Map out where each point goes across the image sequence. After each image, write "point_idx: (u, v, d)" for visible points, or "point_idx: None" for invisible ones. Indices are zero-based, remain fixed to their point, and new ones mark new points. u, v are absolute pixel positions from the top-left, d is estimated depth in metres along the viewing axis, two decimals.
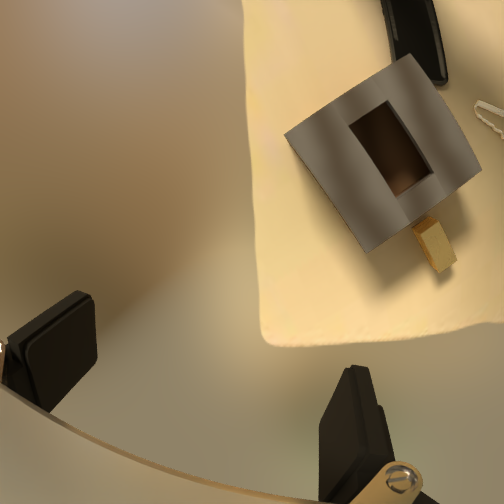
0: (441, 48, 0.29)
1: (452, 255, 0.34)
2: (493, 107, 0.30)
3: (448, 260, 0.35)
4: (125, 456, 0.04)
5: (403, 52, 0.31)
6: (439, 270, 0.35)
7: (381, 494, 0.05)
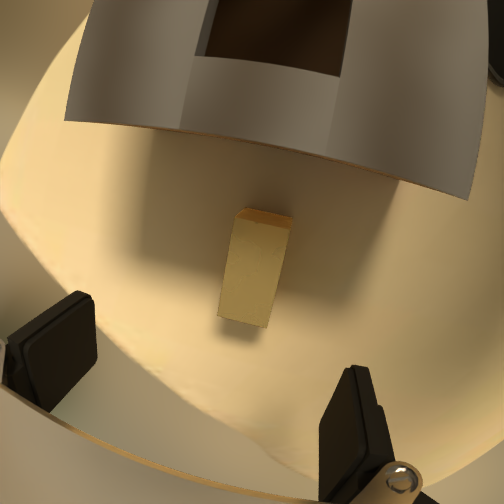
0: None
1: (264, 312, 0.18)
2: None
3: (249, 312, 0.18)
4: (125, 456, 0.04)
5: None
6: (220, 311, 0.19)
7: (381, 494, 0.05)
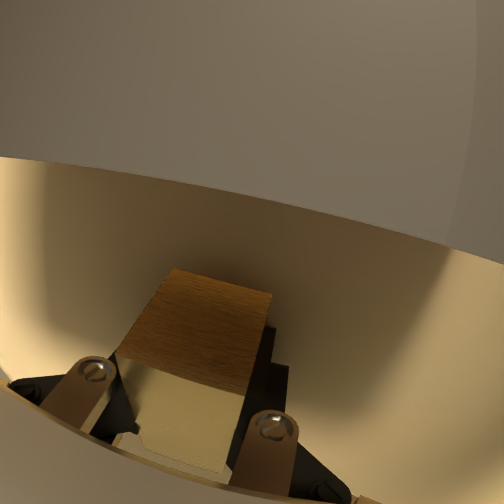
0: None
1: (214, 463, 0.09)
2: None
3: (189, 458, 0.09)
4: (125, 456, 0.04)
5: None
6: (146, 446, 0.09)
7: (261, 447, 0.06)
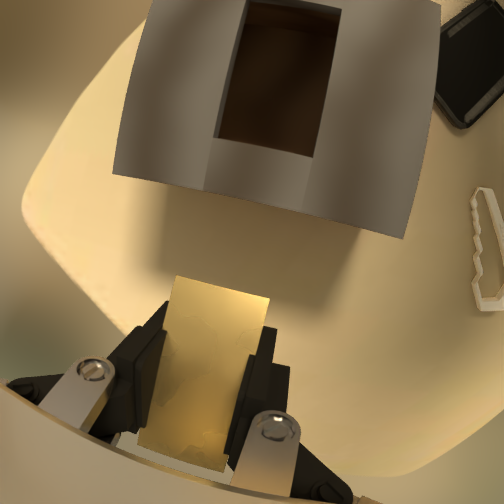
0: (494, 97, 0.18)
1: (219, 445, 0.09)
2: (499, 216, 0.21)
3: (191, 444, 0.09)
4: (125, 456, 0.04)
5: (442, 50, 0.18)
6: (142, 437, 0.09)
7: (263, 447, 0.06)
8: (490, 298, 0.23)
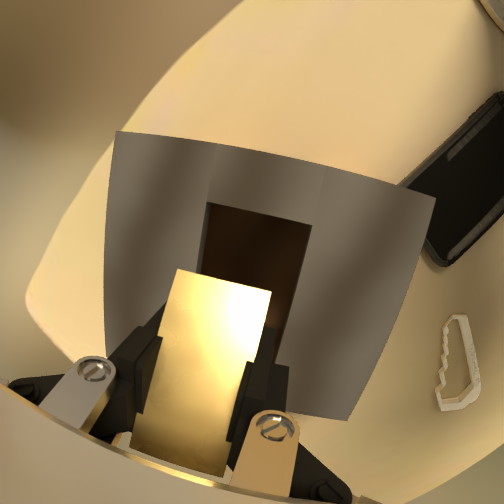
0: (486, 226, 0.20)
1: (218, 446, 0.08)
2: (470, 339, 0.23)
3: (189, 446, 0.08)
4: (125, 456, 0.04)
5: (437, 179, 0.20)
6: (135, 439, 0.08)
7: (262, 447, 0.06)
8: (452, 399, 0.26)
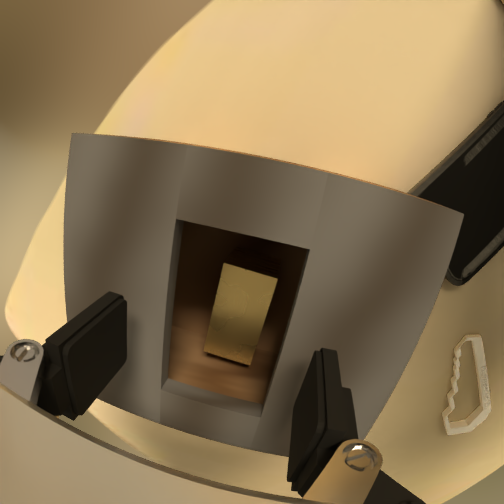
0: None
1: (248, 351, 0.19)
2: (483, 360, 0.20)
3: (233, 350, 0.19)
4: (125, 456, 0.04)
5: (453, 186, 0.17)
6: (206, 347, 0.19)
7: (342, 473, 0.05)
8: (459, 422, 0.22)
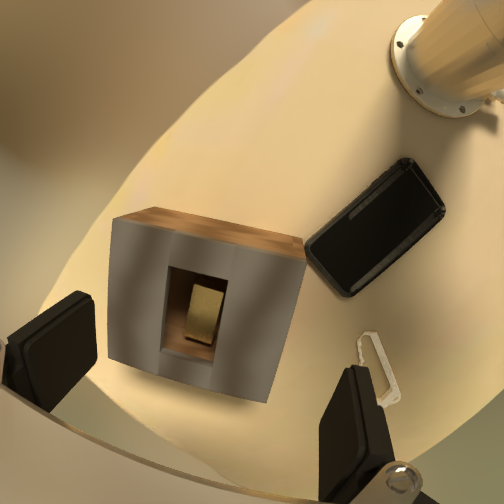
0: (384, 267, 0.32)
1: (209, 335, 0.32)
2: (382, 351, 0.34)
3: (201, 334, 0.32)
4: (125, 456, 0.04)
5: (340, 234, 0.31)
6: (185, 333, 0.32)
7: (381, 494, 0.05)
8: None
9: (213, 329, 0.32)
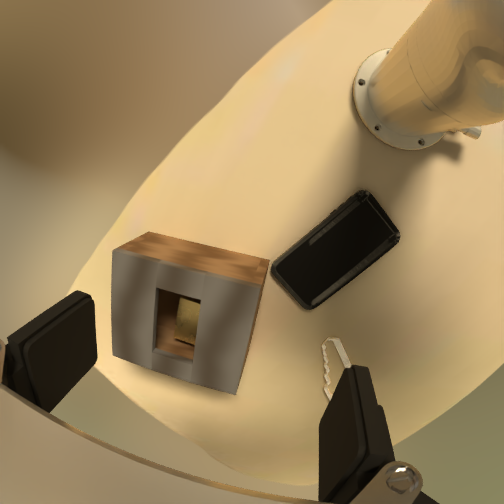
0: (341, 285, 0.38)
1: (193, 337, 0.39)
2: (344, 354, 0.40)
3: (187, 337, 0.39)
4: (125, 456, 0.04)
5: (301, 257, 0.38)
6: (174, 335, 0.39)
7: (381, 494, 0.05)
8: None
9: (196, 333, 0.39)
